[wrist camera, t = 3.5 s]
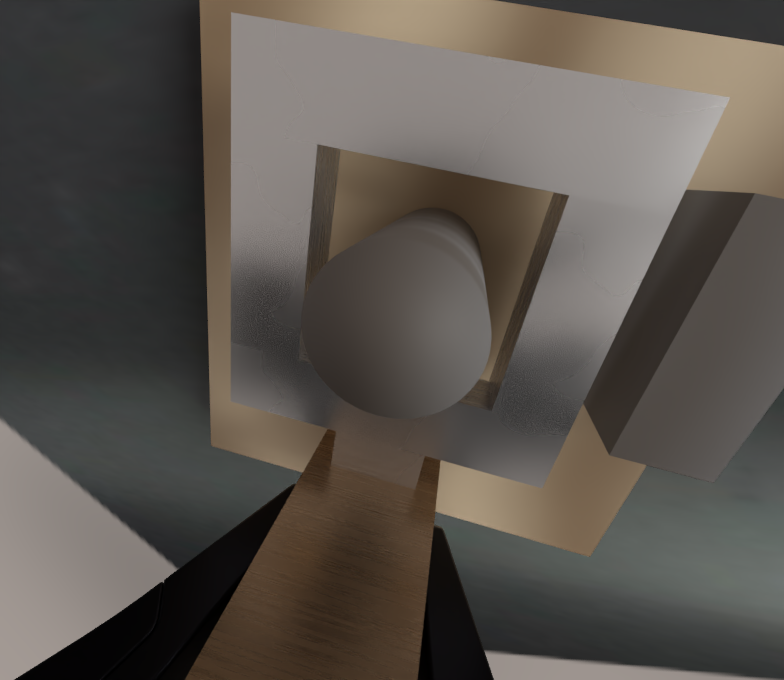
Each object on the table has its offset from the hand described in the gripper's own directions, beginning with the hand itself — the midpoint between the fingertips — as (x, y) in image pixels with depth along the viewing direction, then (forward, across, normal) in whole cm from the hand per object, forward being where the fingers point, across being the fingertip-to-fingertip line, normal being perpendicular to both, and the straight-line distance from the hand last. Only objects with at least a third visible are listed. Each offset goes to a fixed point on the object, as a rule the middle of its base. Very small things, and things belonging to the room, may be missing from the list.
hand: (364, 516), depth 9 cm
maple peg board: (+4, 0, -4) cm, 6 cm away
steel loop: (+1, 0, -4) cm, 4 cm away
